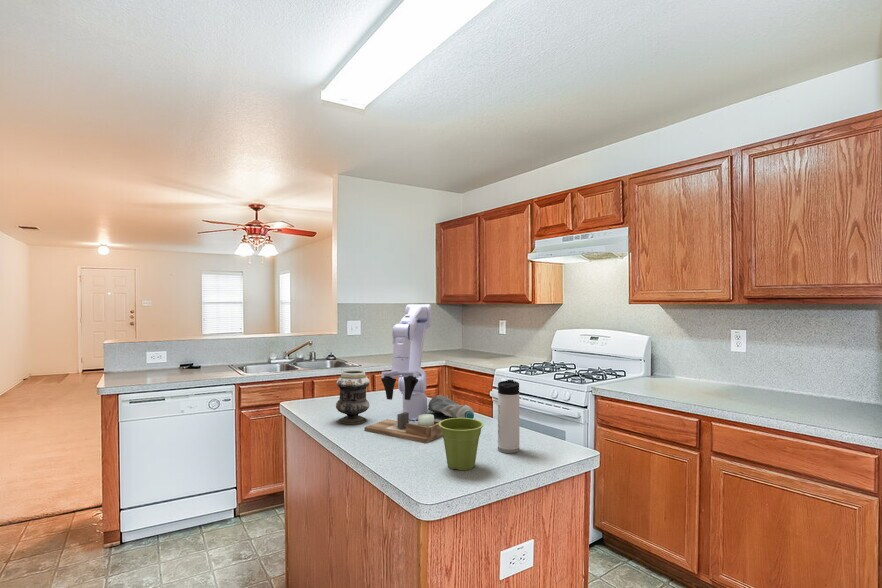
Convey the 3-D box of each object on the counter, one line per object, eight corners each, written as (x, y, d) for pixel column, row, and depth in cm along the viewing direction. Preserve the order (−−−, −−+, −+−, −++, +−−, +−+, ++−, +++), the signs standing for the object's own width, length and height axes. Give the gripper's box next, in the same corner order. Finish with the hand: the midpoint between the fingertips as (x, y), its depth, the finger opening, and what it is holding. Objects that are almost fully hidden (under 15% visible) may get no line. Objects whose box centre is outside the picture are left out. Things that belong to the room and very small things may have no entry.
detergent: (423, 413, 180) (452, 427, 158) (424, 394, 181) (453, 406, 158) (453, 412, 186) (485, 426, 163) (454, 394, 186) (486, 405, 164)
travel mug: (521, 447, 138) (521, 380, 138) (517, 454, 132) (517, 383, 132) (500, 445, 140) (500, 379, 140) (495, 452, 134) (495, 382, 134)
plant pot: (429, 466, 123) (429, 423, 123) (460, 455, 131) (460, 415, 131) (462, 478, 114) (462, 432, 114) (492, 466, 123) (492, 423, 123)
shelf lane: (387, 422, 166) (387, 410, 166) (446, 433, 152) (446, 420, 152) (364, 430, 156) (364, 418, 156) (425, 443, 142) (425, 429, 142)
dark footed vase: (366, 425, 162) (366, 373, 162) (332, 425, 162) (332, 373, 162) (372, 416, 174) (372, 368, 174) (339, 416, 174) (340, 368, 175)
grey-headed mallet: (405, 425, 157) (405, 410, 157) (436, 430, 150) (436, 415, 150) (396, 428, 153) (396, 413, 153) (428, 434, 146) (428, 418, 146)
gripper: (377, 357, 158) (373, 398, 155) (411, 356, 151) (408, 399, 147) (390, 360, 164) (387, 399, 160) (423, 359, 156) (421, 400, 153)
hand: (398, 399), depth 154 cm, fingers open, 7 cm apart
